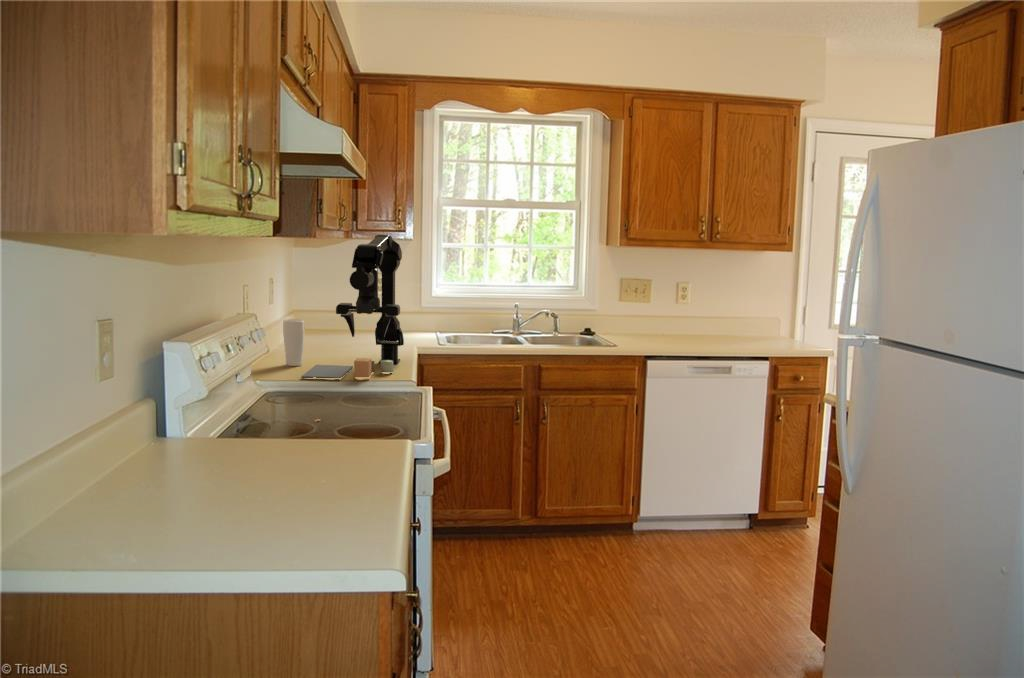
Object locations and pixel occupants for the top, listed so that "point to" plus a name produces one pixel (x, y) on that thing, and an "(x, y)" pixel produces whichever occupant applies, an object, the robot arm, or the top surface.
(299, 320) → the drinking glass
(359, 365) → the terracotta block
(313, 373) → the slate mat
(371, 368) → the walnut block
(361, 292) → the robot arm
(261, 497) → the top surface
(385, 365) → the sage cylinder
